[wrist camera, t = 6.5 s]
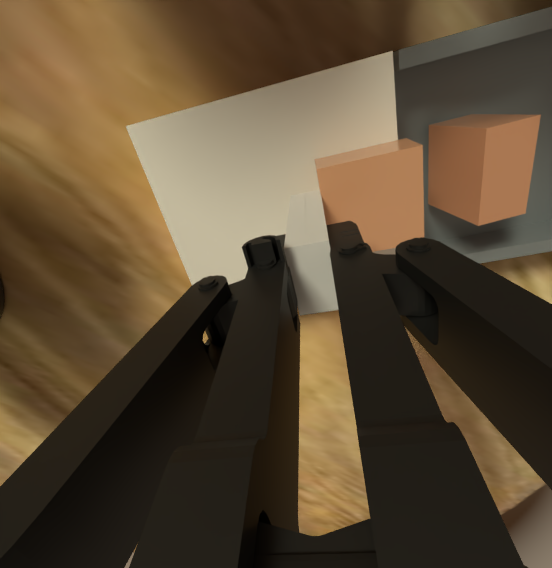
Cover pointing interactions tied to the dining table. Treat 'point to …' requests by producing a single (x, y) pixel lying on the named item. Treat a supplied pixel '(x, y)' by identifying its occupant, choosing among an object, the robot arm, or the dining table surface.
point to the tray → (484, 100)
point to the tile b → (482, 165)
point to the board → (258, 157)
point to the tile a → (376, 191)
